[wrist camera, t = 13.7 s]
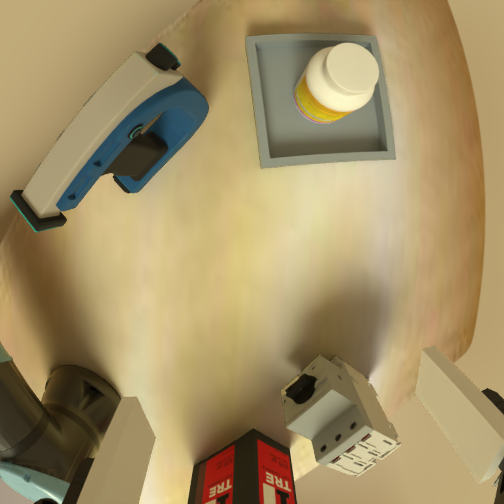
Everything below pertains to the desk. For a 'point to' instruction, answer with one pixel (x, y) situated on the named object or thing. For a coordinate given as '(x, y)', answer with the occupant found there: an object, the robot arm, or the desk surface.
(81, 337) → the desk surface
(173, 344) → the desk surface
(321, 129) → the tray
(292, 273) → the desk surface
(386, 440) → the circuit breaker
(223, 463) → the cleaning product box
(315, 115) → the supplement bottle
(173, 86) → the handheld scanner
